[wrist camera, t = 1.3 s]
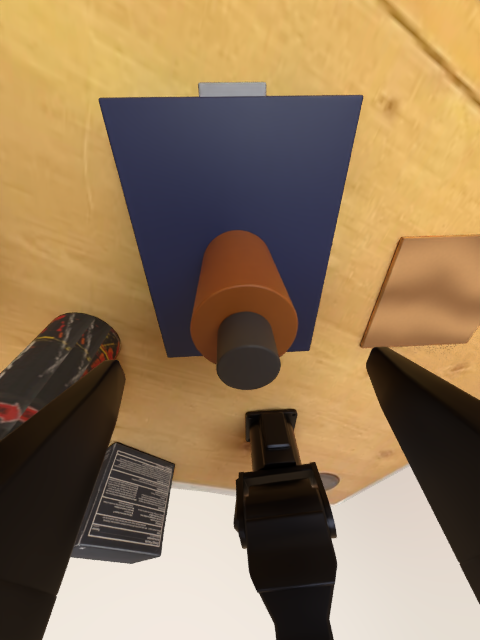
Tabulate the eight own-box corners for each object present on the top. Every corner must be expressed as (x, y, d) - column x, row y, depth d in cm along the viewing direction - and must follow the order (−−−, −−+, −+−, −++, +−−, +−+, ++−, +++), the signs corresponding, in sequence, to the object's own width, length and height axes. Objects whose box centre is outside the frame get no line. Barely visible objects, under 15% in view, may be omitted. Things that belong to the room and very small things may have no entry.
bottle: (269, 293, 17) (304, 405, 9) (206, 295, 17) (192, 411, 9) (273, 228, 14) (325, 314, 7) (199, 230, 14) (171, 320, 7)
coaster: (463, 340, 25) (466, 343, 24) (359, 345, 24) (361, 348, 24) (540, 232, 18) (546, 233, 18) (401, 236, 18) (404, 238, 18)
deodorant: (58, 301, 20) (-215, 552, 7) (129, 331, 22) (10, 563, 10) (43, 346, 22) (-175, 586, 10) (108, 369, 24) (-6, 588, 12)
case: (301, 329, 23) (310, 351, 20) (173, 335, 22) (166, 358, 20) (342, 89, 13) (369, 76, 11) (116, 91, 13) (90, 78, 10)
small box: (90, 457, 35) (47, 557, 26) (115, 440, 32) (77, 544, 24) (151, 477, 40) (131, 567, 31) (176, 464, 37) (162, 557, 29)
